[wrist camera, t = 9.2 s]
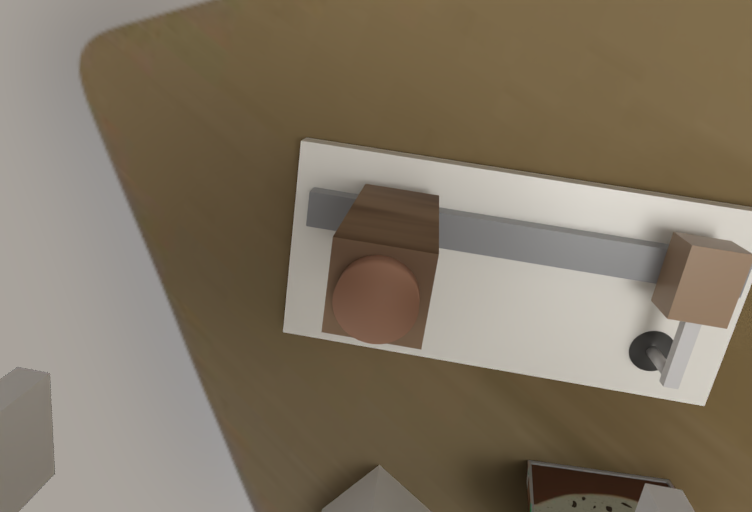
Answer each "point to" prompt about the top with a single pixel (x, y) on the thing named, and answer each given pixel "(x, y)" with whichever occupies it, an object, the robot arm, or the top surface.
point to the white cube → (376, 496)
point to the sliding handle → (383, 267)
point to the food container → (583, 489)
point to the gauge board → (543, 270)
